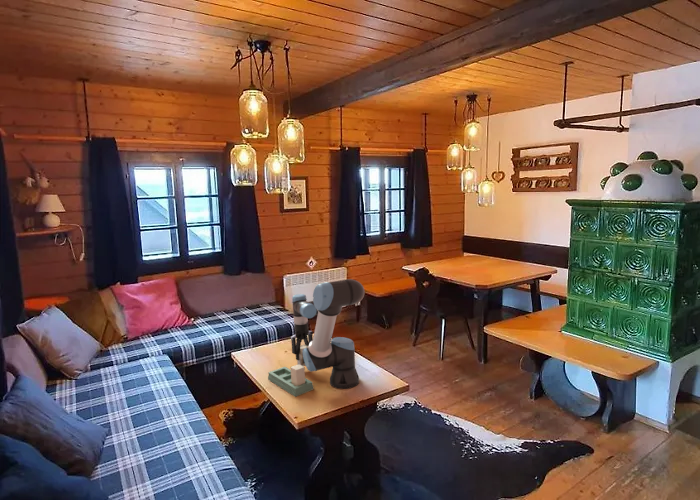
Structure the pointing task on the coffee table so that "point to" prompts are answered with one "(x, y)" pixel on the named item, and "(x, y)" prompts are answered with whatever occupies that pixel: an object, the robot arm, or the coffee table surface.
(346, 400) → the coffee table surface
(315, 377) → the coffee table surface
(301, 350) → the block
